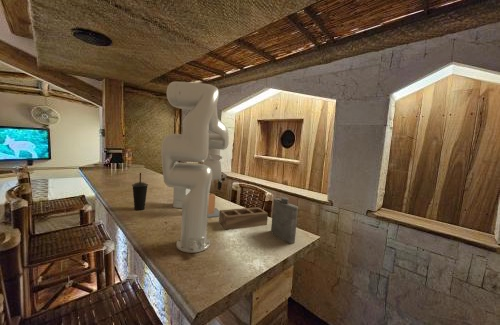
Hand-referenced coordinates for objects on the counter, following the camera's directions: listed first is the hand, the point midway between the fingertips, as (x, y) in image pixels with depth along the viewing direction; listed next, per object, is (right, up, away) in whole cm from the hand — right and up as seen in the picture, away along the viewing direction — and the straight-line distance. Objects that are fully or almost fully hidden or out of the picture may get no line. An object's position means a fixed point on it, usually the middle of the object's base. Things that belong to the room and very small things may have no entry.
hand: (210, 189), depth 119 cm
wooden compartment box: (+18, -16, -8) cm, 25 cm away
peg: (-1, -13, +2) cm, 13 cm away
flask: (+35, -19, -20) cm, 45 cm away
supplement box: (-19, -11, +11) cm, 25 cm away
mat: (-1, -13, +2) cm, 13 cm away
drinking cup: (-38, -11, +1) cm, 40 cm away
